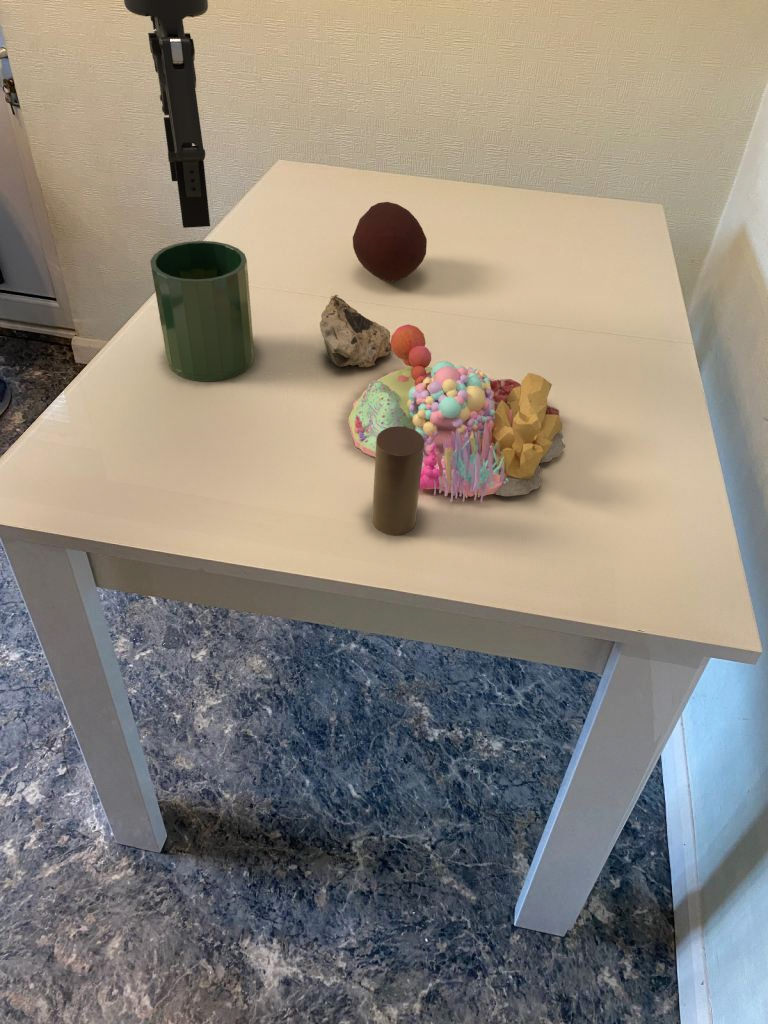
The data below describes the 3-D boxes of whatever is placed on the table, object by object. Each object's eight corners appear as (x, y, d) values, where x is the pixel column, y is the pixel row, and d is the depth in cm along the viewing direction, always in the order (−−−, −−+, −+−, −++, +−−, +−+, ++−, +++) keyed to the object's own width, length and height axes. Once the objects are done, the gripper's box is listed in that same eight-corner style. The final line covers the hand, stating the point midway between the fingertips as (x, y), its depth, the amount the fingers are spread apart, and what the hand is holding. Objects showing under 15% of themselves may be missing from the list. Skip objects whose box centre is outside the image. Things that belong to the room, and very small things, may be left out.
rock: (351, 317, 100) (307, 293, 92) (397, 308, 97) (355, 282, 88) (350, 380, 100) (305, 362, 91) (396, 374, 96) (353, 354, 87)
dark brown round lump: (352, 296, 108) (354, 226, 101) (350, 257, 118) (352, 191, 111) (427, 298, 109) (434, 228, 102) (419, 259, 118) (425, 193, 111)
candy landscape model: (569, 398, 91) (587, 331, 85) (555, 524, 74) (576, 453, 68) (375, 363, 95) (378, 297, 89) (319, 476, 78) (318, 404, 72)
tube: (171, 386, 89) (153, 285, 80) (164, 341, 96) (147, 244, 87) (260, 376, 91) (253, 277, 83) (246, 332, 99) (239, 237, 90)
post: (378, 538, 72) (384, 458, 65) (366, 508, 75) (370, 429, 68) (421, 531, 73) (431, 451, 66) (407, 502, 76) (415, 423, 69)
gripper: (222, -17, 58) (241, 246, 72) (190, -56, 75) (210, 162, 90) (122, -20, 56) (163, 250, 71) (113, -59, 74) (147, 164, 88)
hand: (189, 201), depth 80 cm, fingers open, 13 cm apart
